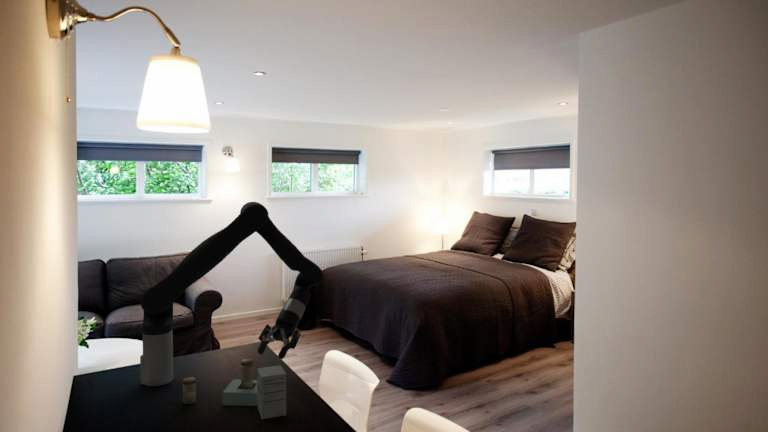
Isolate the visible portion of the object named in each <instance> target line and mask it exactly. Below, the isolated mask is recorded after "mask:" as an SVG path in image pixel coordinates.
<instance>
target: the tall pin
mask: <svg viewBox="0 0 768 432" xmlns="http://www.w3.org/2000/svg"><path fill="white" fill-rule="evenodd" d="M240 379H241V389H253V380H254V359H252V358H244V359H241V361H240Z"/></svg>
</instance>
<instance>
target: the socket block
mask: <svg viewBox="0 0 768 432" xmlns="http://www.w3.org/2000/svg"><path fill="white" fill-rule="evenodd" d="M222 406H243V407H246V406H247V407H248V406H251V407H257V379H253V389H241V378H240V379H237V378H236V379H234V378H233V379H232V380H231V382H230V383H229V384H228V385H227V386H226V387H225V388H224V390H223V391H222Z"/></svg>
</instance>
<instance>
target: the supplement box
mask: <svg viewBox="0 0 768 432" xmlns="http://www.w3.org/2000/svg"><path fill="white" fill-rule="evenodd" d="M256 370H257V376H256V377H257V379H256V380H257V406H256V407H257V410H258V412H259V415H260V419H261V420H267V419H273V418H279V417H284V416H287V373H286V371H285V370H284V368H283V366H282V365H280V364H279V365H271V366H264V367H259V368H257V369H256Z"/></svg>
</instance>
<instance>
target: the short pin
mask: <svg viewBox="0 0 768 432" xmlns="http://www.w3.org/2000/svg"><path fill="white" fill-rule="evenodd" d="M196 379H197V378H196V377H192V376H191V377H185V378H183V379H182V403H183V404H184V405H191V404H195V402H196V401H197V399H196V398H197V396H196V395H197V392H196V391H197V389H196V387H197V386H196Z"/></svg>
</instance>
